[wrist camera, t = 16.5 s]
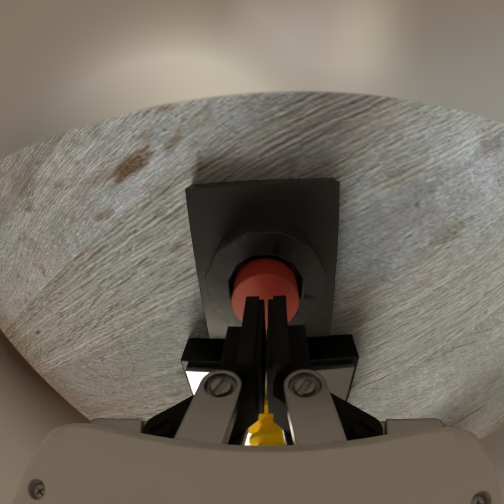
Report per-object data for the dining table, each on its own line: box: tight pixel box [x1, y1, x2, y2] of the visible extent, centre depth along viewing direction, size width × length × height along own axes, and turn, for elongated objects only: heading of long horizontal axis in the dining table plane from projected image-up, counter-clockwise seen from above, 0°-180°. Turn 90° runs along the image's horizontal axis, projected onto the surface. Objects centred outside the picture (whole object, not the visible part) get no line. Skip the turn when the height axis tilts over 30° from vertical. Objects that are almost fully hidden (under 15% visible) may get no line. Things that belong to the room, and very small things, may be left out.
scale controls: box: [185, 178, 340, 339], centre depth 16 cm, size 10×8×3 cm
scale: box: [181, 334, 359, 446], centre depth 21 cm, size 12×12×3 cm
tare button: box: [231, 258, 299, 330], centre depth 14 cm, size 3×3×2 cm
